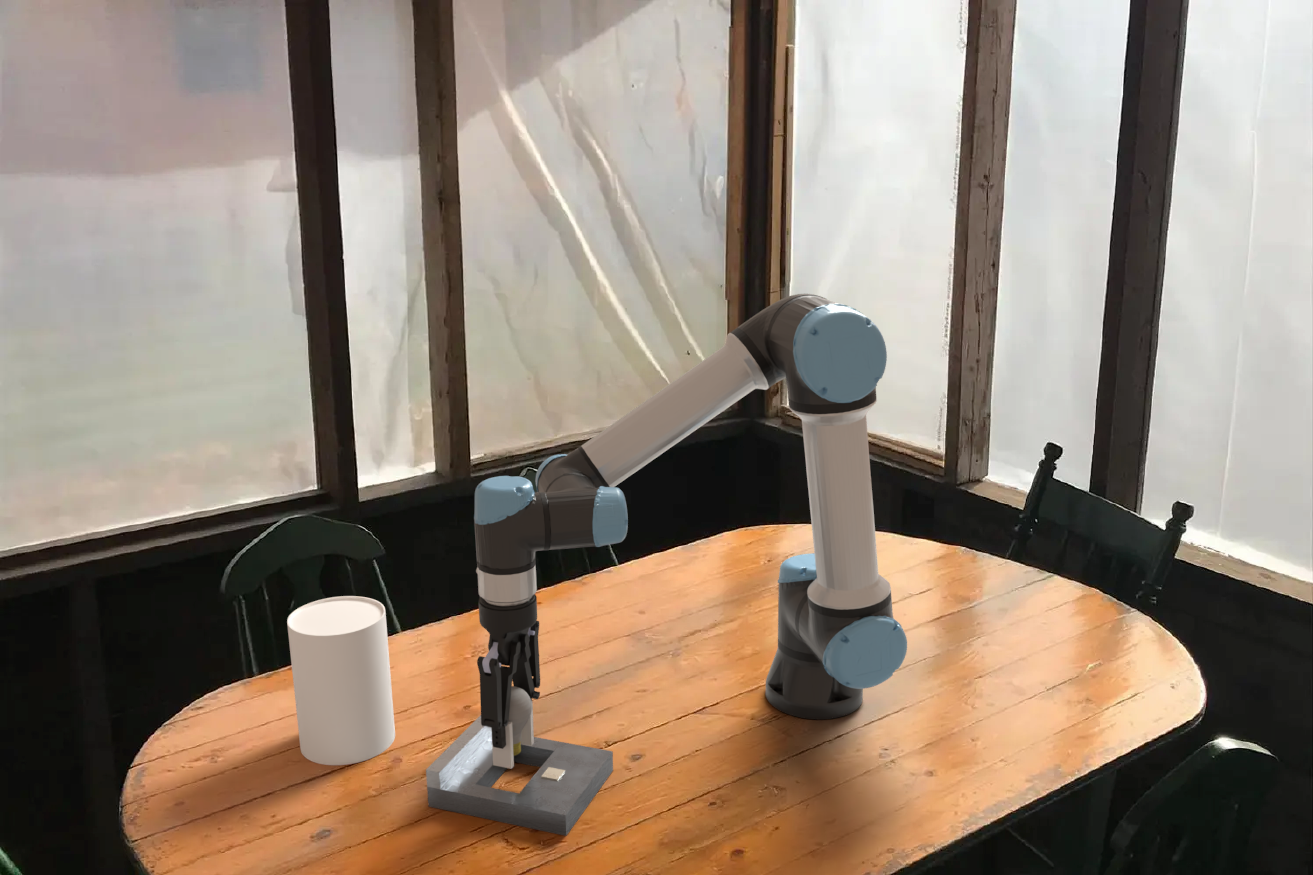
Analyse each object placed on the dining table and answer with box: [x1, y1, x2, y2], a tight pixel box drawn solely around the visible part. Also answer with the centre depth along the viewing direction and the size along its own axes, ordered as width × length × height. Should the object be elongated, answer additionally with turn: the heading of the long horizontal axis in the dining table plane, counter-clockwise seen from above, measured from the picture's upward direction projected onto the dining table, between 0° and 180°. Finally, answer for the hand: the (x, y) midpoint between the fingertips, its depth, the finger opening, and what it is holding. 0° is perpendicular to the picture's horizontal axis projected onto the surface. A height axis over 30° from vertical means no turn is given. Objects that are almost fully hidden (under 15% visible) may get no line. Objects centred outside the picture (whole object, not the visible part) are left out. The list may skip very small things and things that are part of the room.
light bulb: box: [509, 685, 533, 756], centre depth 153 cm, size 6×6×10 cm
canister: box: [286, 595, 396, 766], centre depth 166 cm, size 14×14×20 cm
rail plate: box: [425, 714, 614, 837], centre depth 155 cm, size 20×16×6 cm
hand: (513, 753), depth 155 cm, fingers closed on light bulb, 5 cm apart
